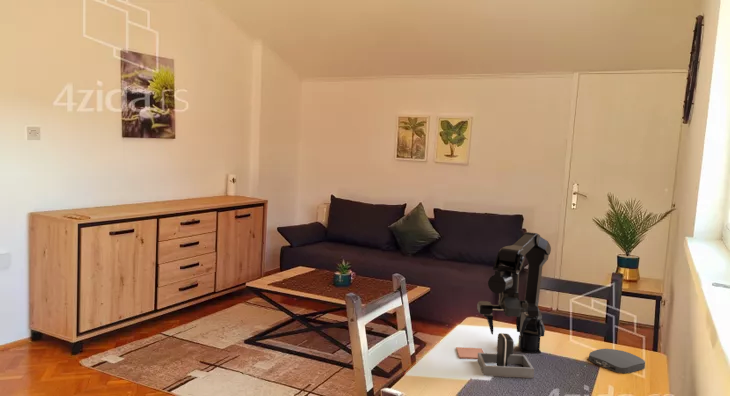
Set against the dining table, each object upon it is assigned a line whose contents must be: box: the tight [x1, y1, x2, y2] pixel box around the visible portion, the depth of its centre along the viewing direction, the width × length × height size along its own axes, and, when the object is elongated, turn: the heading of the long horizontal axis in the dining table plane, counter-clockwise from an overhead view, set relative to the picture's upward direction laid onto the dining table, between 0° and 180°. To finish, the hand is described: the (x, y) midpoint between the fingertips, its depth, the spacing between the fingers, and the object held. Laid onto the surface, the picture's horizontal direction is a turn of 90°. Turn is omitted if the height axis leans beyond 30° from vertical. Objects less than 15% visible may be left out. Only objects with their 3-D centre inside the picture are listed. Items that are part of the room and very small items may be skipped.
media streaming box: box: [588, 348, 646, 374], centre depth 182 cm, size 15×15×3 cm
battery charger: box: [495, 332, 515, 366], centre depth 173 cm, size 7×4×11 cm, turn 1°
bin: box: [476, 352, 535, 379], centre depth 174 cm, size 16×12×3 cm
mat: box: [455, 346, 485, 360], centre depth 186 cm, size 9×9×1 cm
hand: (506, 334), depth 173 cm, fingers open, 9 cm apart
